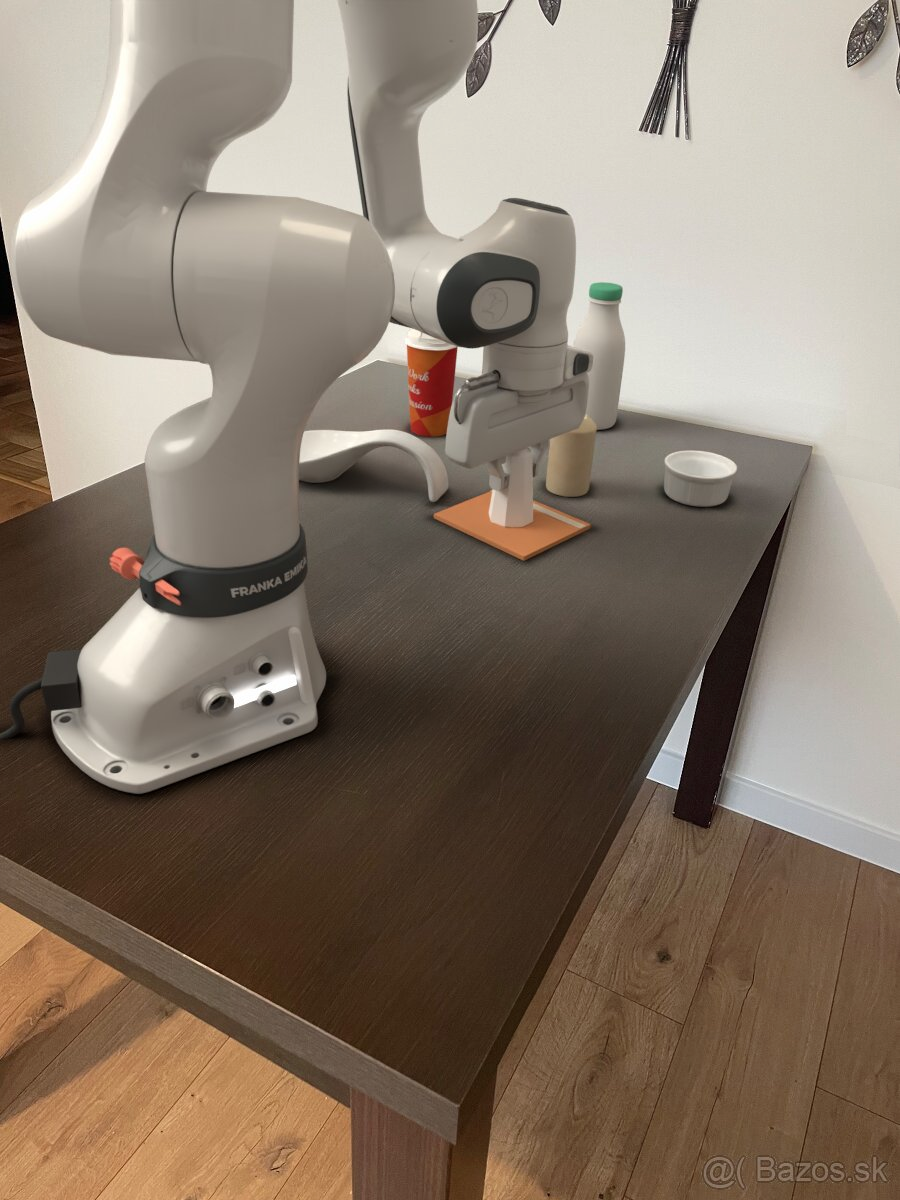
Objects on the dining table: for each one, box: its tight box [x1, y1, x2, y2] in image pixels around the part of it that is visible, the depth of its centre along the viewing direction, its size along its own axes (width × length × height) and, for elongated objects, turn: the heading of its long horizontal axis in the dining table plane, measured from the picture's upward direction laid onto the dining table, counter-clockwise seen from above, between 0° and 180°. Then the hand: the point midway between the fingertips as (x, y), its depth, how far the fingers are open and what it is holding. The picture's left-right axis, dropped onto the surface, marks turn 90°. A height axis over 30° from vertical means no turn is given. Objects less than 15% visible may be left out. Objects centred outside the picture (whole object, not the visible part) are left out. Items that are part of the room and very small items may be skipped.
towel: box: [433, 489, 592, 562], centre depth 108 cm, size 12×14×1 cm
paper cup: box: [404, 328, 459, 437], centre depth 130 cm, size 8×8×14 cm
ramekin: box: [663, 450, 738, 508], centre depth 116 cm, size 9×9×4 cm
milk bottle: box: [572, 281, 626, 431], centre depth 134 cm, size 8×8×20 cm
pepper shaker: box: [489, 448, 534, 527], centre depth 105 cm, size 5×5×11 cm
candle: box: [545, 413, 598, 498], centre depth 115 cm, size 6×6×10 cm
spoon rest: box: [299, 429, 449, 503], centre depth 115 cm, size 24×12×7 cm, turn 70°
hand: (513, 482), depth 105 cm, fingers closed on pepper shaker, 4 cm apart
